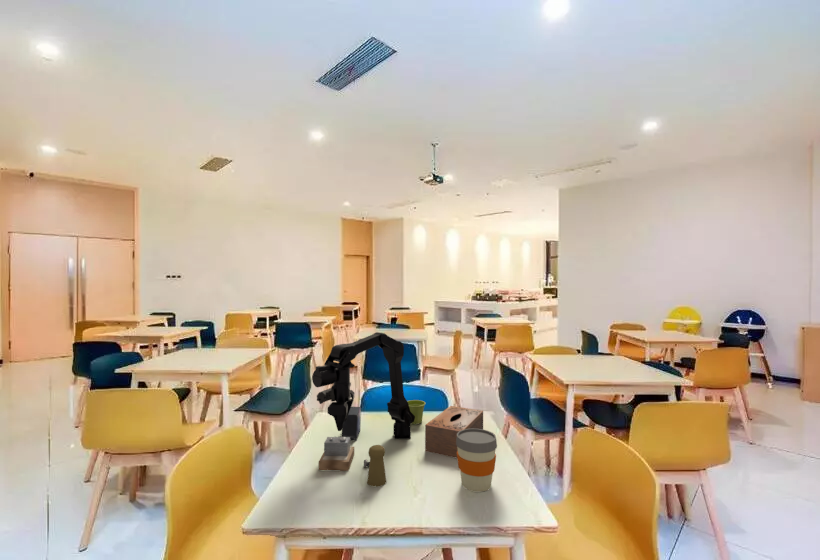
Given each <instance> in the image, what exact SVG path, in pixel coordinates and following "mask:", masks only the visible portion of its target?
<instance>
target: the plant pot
mask: <svg viewBox="0 0 820 560" xmlns="http://www.w3.org/2000/svg"><path fill="white" fill-rule="evenodd" d="M407 402H408V404H409V408H410V412H411V413H412V414H413V415H414V416H415V419H414V422H412V424H411V425H418V424H422V423H423V416H424V410H425V409H424V408H425V405H426V402H425V401H423V400H421V399H420V400H419V399H413V400H407Z"/></svg>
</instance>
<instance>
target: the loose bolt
mask: <svg viewBox="0 0 820 560" xmlns="http://www.w3.org/2000/svg"><path fill="white" fill-rule="evenodd" d="M369 464H370V461H368V460H367V459H364V460H363V467H364V468H367V467H368V468H369Z"/></svg>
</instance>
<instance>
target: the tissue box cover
mask: <svg viewBox="0 0 820 560" xmlns="http://www.w3.org/2000/svg"><path fill="white" fill-rule="evenodd" d="M424 426H425V427H424V433H425V435H424V443H425V444H424V445H425V446H424V449H425V450H424V452H426V453H427V452H428V453H432V454H436V455H441V456H446V457H451V458H455V459H457V451H458V448H457V445H456V438H457V433H458V432H459V431H461V430H464V429H473V428H474V429H483V430H484V410H481V409H480V410H479V409H474V408H468V407H467V408H466V407H461V406H456V405H455V406H454V405H450V406H448V407H447V408H445V409H444V410H443V411H442V412H440V413H439V414H438V415H436V416H435V417H433V418H432V419H431V420H430V421H428V422H427V423H425V424H424Z"/></svg>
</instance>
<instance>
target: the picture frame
mask: <svg viewBox="0 0 820 560" xmlns="http://www.w3.org/2000/svg"><path fill="white" fill-rule="evenodd" d="M354 456H355V446H350V451H349V454H348V456H324V452H323V453H322V455H321V456H320V458H319V460H318V471H319V470H340V471H339V472H344V471H345V472H347V471H348V472H349V471H350V468H351V467H352V464H353V460H354V458H355V457H354Z"/></svg>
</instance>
